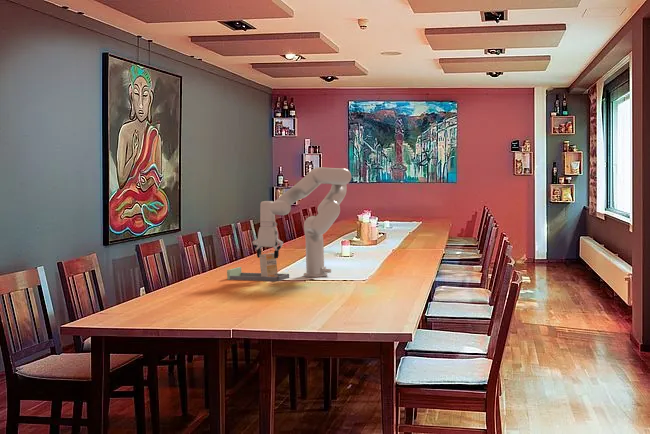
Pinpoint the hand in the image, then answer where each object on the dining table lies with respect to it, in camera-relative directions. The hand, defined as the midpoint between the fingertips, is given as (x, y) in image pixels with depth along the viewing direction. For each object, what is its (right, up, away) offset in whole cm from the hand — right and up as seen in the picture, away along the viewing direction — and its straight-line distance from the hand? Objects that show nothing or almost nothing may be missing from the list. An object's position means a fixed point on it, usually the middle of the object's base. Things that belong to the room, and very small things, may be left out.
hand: (267, 257), depth 404 cm
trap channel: (-4, -11, +3) cm, 12 cm away
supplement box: (+1, -11, +1) cm, 11 cm away
